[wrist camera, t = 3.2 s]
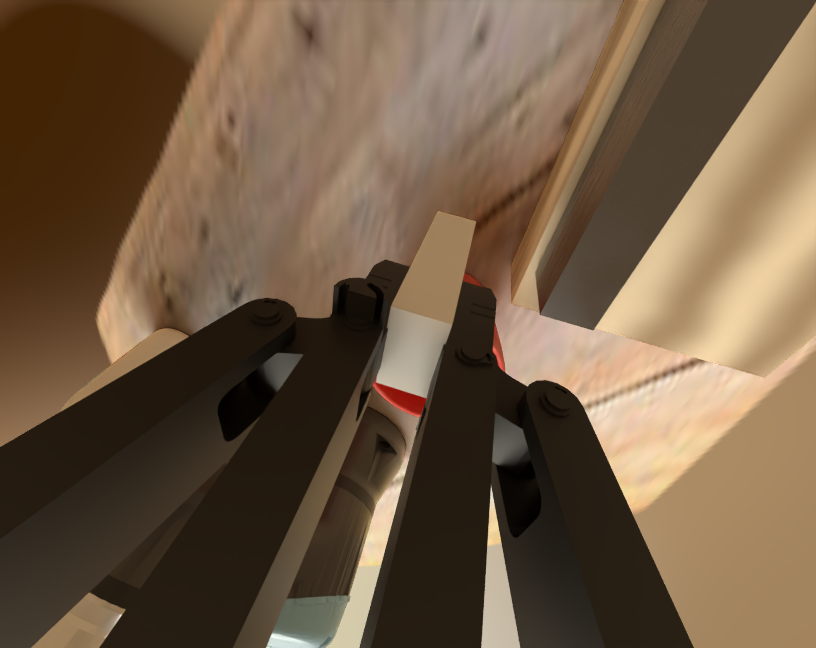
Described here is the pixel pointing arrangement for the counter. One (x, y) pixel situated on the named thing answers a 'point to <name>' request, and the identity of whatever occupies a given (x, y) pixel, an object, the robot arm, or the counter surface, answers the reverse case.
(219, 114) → the counter surface
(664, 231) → the stool seat
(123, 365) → the milk bottle
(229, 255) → the counter surface
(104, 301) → the counter surface
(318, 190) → the counter surface
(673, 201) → the folding leg
